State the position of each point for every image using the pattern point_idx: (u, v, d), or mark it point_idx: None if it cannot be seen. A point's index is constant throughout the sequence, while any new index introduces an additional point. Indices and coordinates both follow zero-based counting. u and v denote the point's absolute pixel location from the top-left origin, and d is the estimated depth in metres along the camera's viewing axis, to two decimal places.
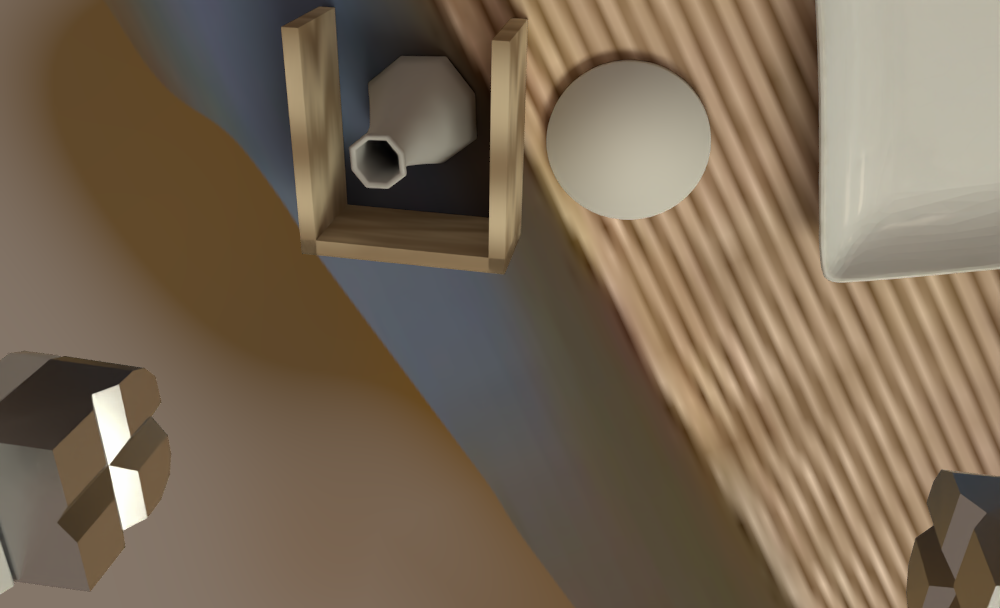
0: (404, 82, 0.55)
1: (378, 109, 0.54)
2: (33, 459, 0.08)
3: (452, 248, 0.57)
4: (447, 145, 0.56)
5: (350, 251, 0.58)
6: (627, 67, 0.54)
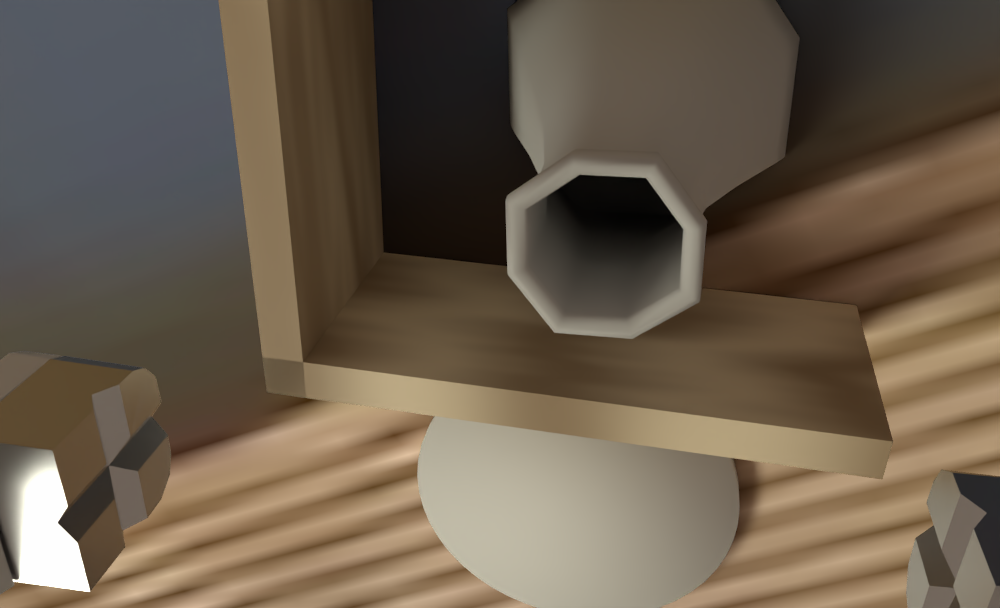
0: (756, 107, 0.20)
1: (708, 80, 0.18)
2: (33, 459, 0.08)
3: (307, 253, 0.21)
4: None
5: None
6: (728, 513, 0.28)
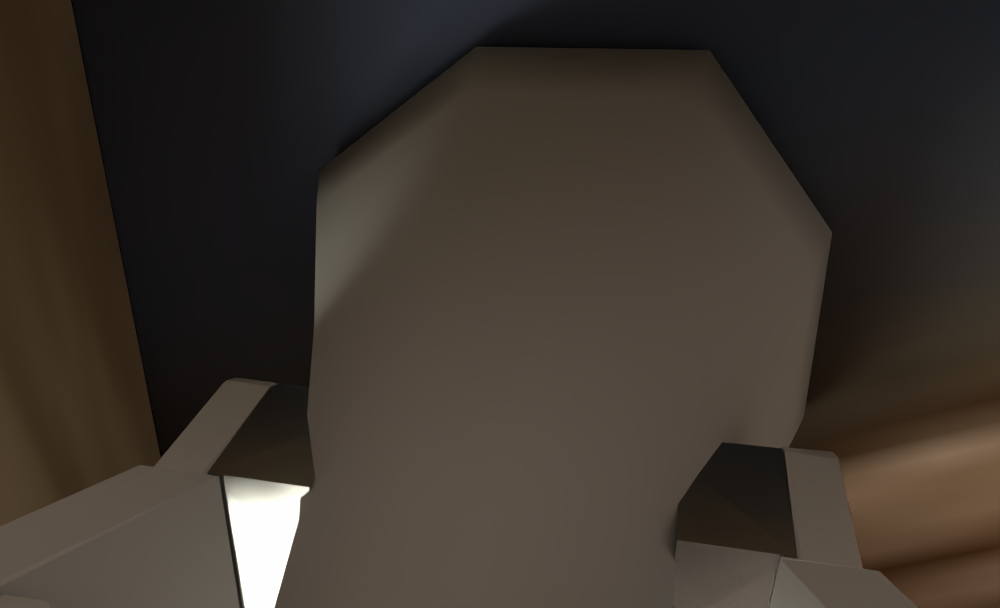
0: None
1: (661, 409, 0.08)
2: (285, 495, 0.08)
3: None
4: None
5: None
6: None
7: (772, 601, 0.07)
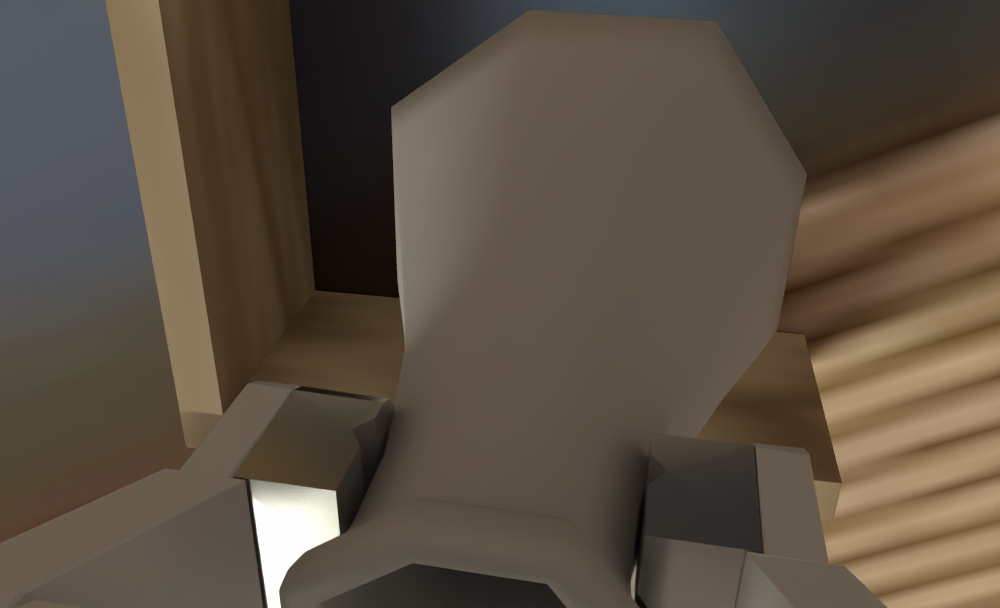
0: (745, 293, 0.13)
1: (673, 277, 0.11)
2: (312, 499, 0.08)
3: (223, 300, 0.20)
4: None
5: None
6: None
7: (739, 596, 0.08)
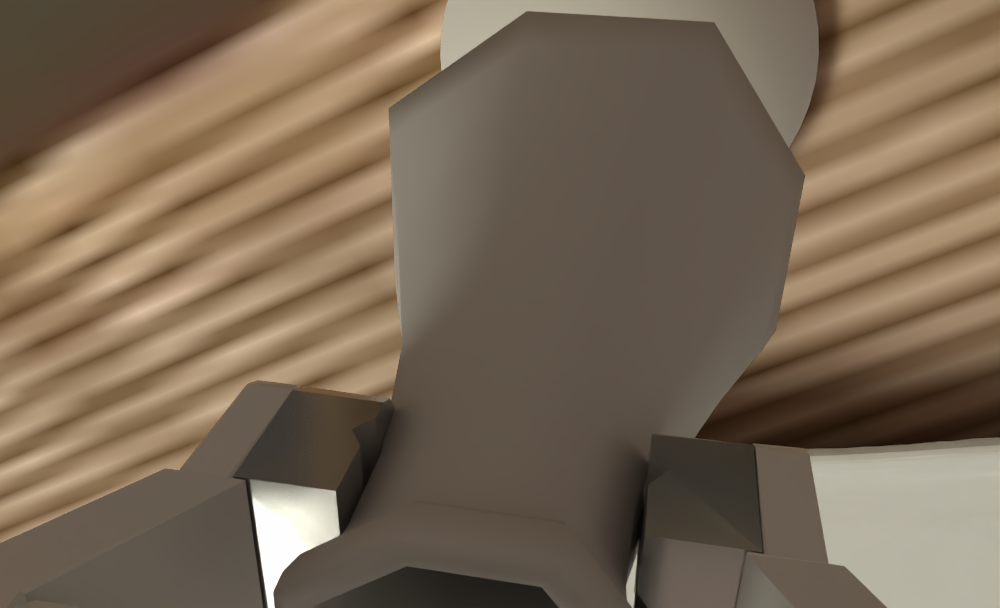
0: (742, 294, 0.13)
1: (670, 279, 0.11)
2: (312, 499, 0.08)
3: None
4: None
5: None
6: (805, 63, 0.24)
7: (739, 596, 0.08)
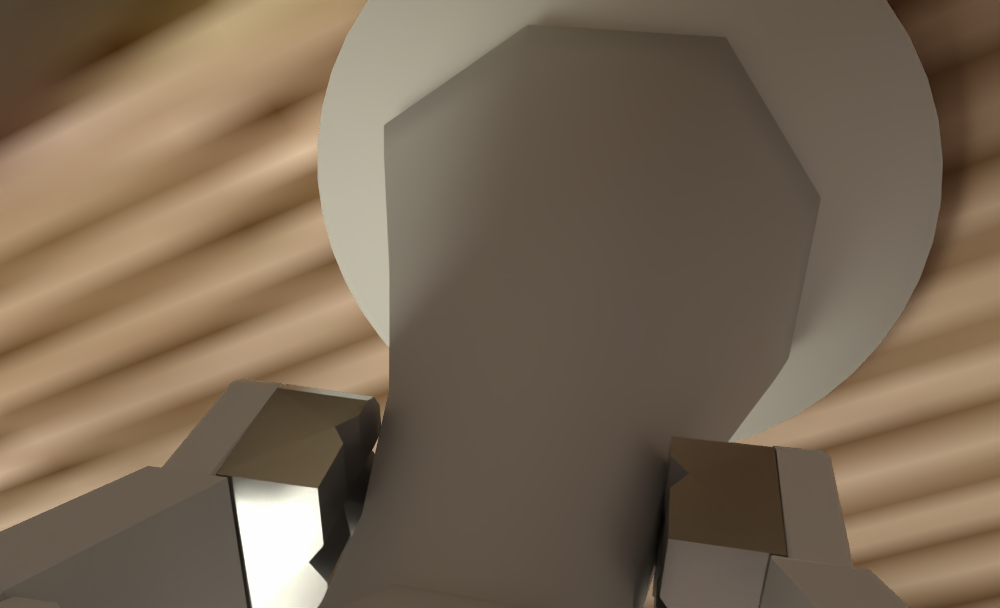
0: (754, 327, 0.12)
1: (677, 319, 0.10)
2: (294, 496, 0.08)
3: None
4: None
5: None
6: (916, 216, 0.14)
7: (763, 600, 0.08)
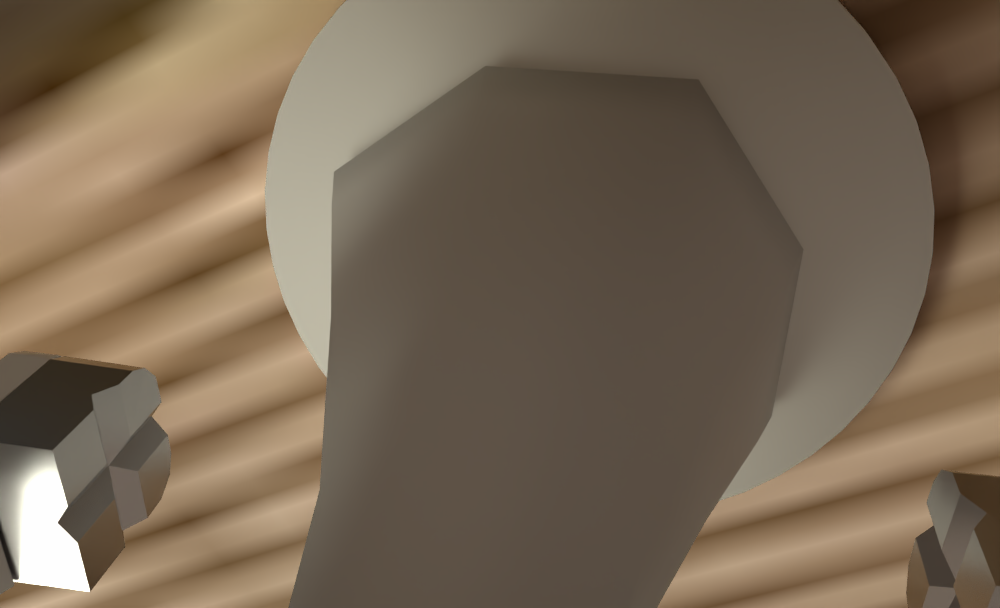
0: (730, 399, 0.11)
1: (642, 404, 0.09)
2: (33, 459, 0.08)
3: None
4: None
5: None
6: (907, 268, 0.13)
7: None
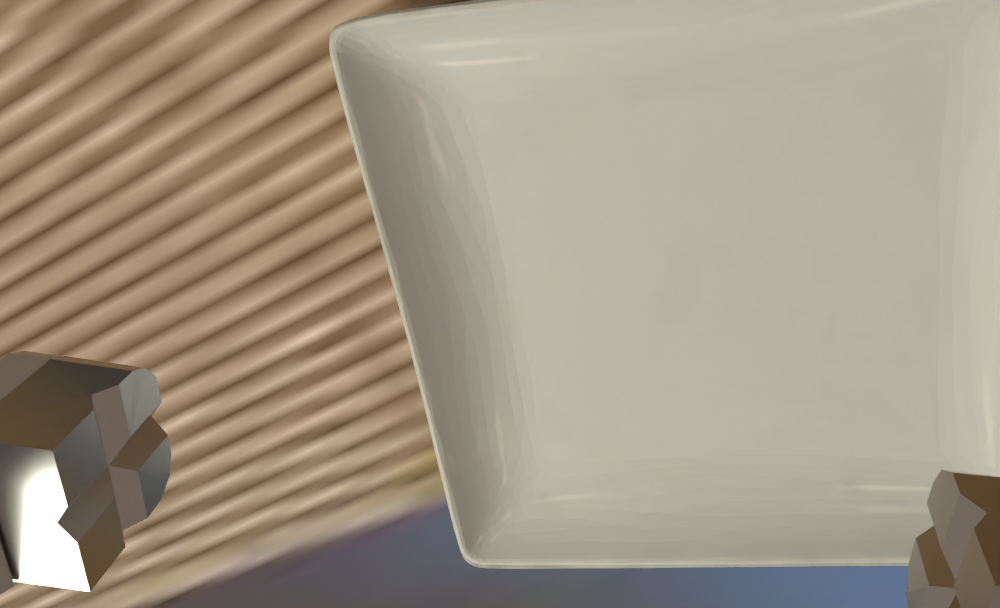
0: None
1: None
2: (32, 459, 0.08)
3: None
4: None
5: None
6: None
7: None
